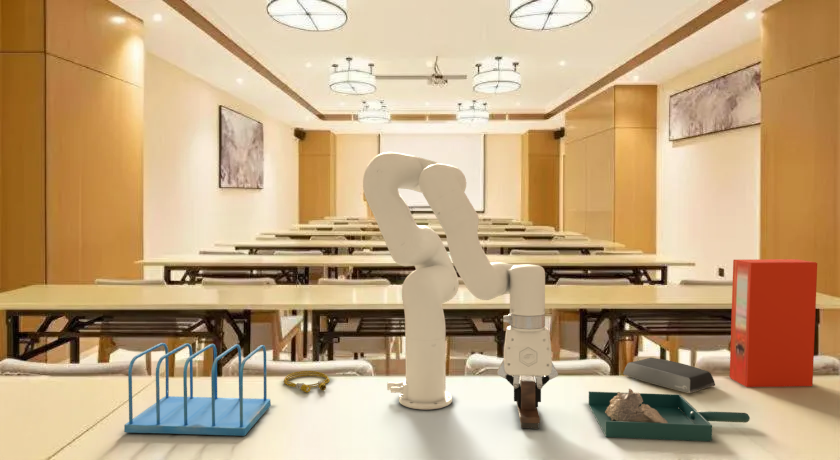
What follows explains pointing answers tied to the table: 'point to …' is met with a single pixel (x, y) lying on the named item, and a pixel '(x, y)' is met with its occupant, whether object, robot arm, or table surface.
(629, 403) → the rock
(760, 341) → the file binder
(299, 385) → the gold rope bracelet
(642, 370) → the hard drive
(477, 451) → the table surface
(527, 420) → the brown stepped block
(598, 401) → the dustpan
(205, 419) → the file sorter
